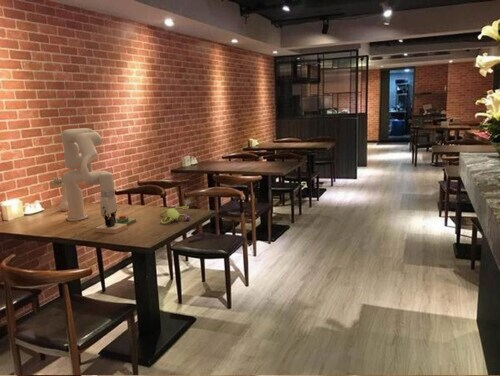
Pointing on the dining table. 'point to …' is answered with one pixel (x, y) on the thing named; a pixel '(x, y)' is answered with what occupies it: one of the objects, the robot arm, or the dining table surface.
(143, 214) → the dining table surface
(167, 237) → the dining table surface
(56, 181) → the flower vase
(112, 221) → the knob
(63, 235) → the dining table surface
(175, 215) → the figurine
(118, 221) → the housing
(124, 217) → the button
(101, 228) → the cream flat block
